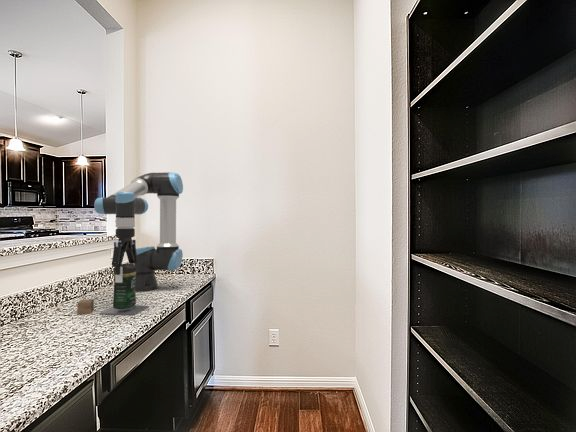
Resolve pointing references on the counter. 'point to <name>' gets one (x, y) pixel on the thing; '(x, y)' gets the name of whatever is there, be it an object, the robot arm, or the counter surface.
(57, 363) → the counter surface
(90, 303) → the walnut block
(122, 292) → the coffee jar
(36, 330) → the counter surface
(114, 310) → the plate
